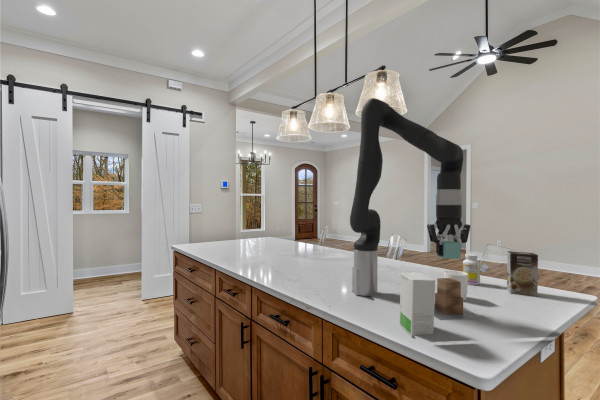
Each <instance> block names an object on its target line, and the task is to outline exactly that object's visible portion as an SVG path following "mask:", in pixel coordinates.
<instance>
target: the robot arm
mask: <svg viewBox="0 0 600 400" xmlns="http://www.w3.org/2000/svg"><path fill="white" fill-rule="evenodd" d="M360 120H361V121H360V125H361V126H360V128H361V129H360V131H361V133H360V145H359V156H358V164H357V171H356V182H355V190H354V196H353V201H352V207H351V211H350V216H349V224H350V228H351V230H352V231H353V232H354V233H359V234H360V236H359V238H358V239H356V240H355V241H354V243H353V267H352V269H351V270H352V275H351V276H352V277H351V280H352V281H351V282H352V283H351V284H352V286H351V289H352V290H351V291H352V292H353V293H354V295H356V296H364V297H370V296H371V295H378V266H379V265H378V261H379V260H378V253H379V252H378V248H379V244H380V241H381V217H380V214H379V213H378V212H377V210H375V209H371V208H370V207H369V206H370V201H371V197H372V194H373V192H374V191H375V189H376V188H377V186H378V184H379V183H380V180H381V178H382V177H381V176H382V171H383V164H384V163H383V153H382V148H381V145H380V137H379V136H380V135H379V134H380V129H381V128H384V129H387V130H390V131H391V132H393V133H395V134H397V135H398V136H399V137H401V138H402V139H403V140H404V141H405V142H407V143H408V144H410V145H411V146H413V147H415V148H417V149H418V150H421V151H423V152H424V153H426V154H427V155H428V156H429V157H431V158H432V159H434V160H436V161H437V162H439V163H440V171H439V173H438V174H437V176H436V195H435V218H436V221H435V222H434V223H430V224H429V223H428V224H427V225H426V228H427V232H428V237H429V240H430V242H432V243H434V244H435V248H436V249H435V253H436V255H437V254H438V256H437V257H439V256H443V245H442V244H443V242H444V241H445V240H446V238H447V236H449V235H450V236H451V239H452V241H455V242H459V243H461V245H462V244H466V243H468V238H469V236H470V235H469V234H470V230H471V225H470V224H466V223H462V215H463V212H462V211H463V207H462V204H463V203H462V201H463V199H462V198H463V197H462V195H463V194H462V190H461V189H462V187H461V186H462V183H461V182H462V178H461V174H462V170H463V163H464V152H463V149H462V146H460V145H459V144H457V143H456V142H455V143H454V142H452V141H451V140H448V139H446V138H444V137H442V136H440V135H438V134H437V133H435V132H434V131H432V130H430V129H429V128H426V127H425V126H423V125H421V124H419V123H417V122H414V121H412V120H410V119H408V118H407V117H404V116H403V115H402V114H400V113H399V112H398V111H396V110H395V109H394V108H393V107H392V106H391V105H389V103H387V102H385V101H383V100H381V99H378V98H374V97H373V98H369V99H368V100H366V101H365V103H364V105H363V106H362V109H361V116H360ZM380 127H381V128H380ZM437 230H438V231H437ZM436 231H437V232H436Z"/></svg>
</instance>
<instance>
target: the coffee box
mask: <svg viewBox="0 0 600 400" xmlns="http://www.w3.org/2000/svg"><path fill="white" fill-rule="evenodd" d="M506 255H507V260H506V262H507V263H506V264H507V265H506V290H507V291H508V293H509V294H514V295H516V294H517V295H523V296H533V297H538V294H539V293H538V283H539V282H538V280H539V278H538V277H539V275H538V274H539V272H538V271H539V268H538V267H539V266H538V265H539V254H536V253H534V252H524V251H514V250H513V251H512V250H507V254H506Z"/></svg>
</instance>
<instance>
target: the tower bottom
mask: <svg viewBox="0 0 600 400" xmlns="http://www.w3.org/2000/svg"><path fill="white" fill-rule="evenodd" d="M434 304H435V308H436V309H437V310H439V311H440V312H442V313H444V314H445V315H450V314H463V307H464V300H463V298H462V297H461V298H445V297H443V296H441V295H439V294H437V292H435V302H434Z"/></svg>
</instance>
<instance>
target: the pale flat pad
mask: <svg viewBox="0 0 600 400" xmlns="http://www.w3.org/2000/svg"><path fill="white" fill-rule="evenodd" d="M434 318H437V319H438V320H440V321H450V320H451V321H452V320H453V321H455V320H481V319H485V318H484V317H482V316H480V315H478V314H477V313H475V312H473V311H471V310H469V309H467V308H465V307H464V306H463V314H450V315H445V314H444V313H442V312H440V311H439V310H437V309H436V308H435V303H434Z"/></svg>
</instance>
